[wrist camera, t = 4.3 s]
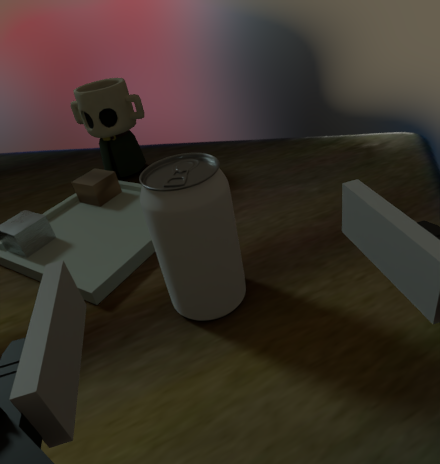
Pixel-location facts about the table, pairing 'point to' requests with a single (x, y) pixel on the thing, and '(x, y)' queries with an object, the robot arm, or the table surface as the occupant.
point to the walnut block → (97, 187)
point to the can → (194, 234)
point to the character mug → (111, 122)
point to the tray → (92, 243)
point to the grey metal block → (26, 233)
